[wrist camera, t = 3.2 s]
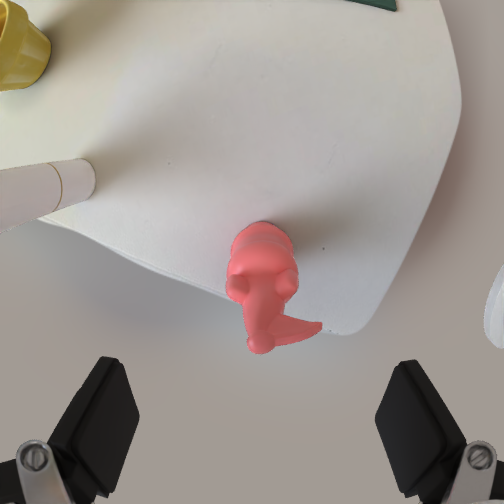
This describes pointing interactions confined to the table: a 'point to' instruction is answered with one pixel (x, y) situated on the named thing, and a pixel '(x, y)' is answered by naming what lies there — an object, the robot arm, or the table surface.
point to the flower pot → (20, 48)
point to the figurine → (266, 287)
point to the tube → (42, 190)
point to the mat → (379, 3)
